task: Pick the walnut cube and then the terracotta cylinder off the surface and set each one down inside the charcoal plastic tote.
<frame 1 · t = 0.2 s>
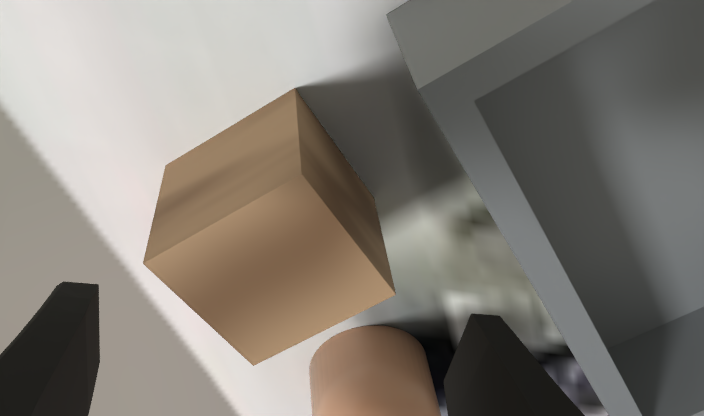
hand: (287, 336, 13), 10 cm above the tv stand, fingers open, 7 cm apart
terracotta cylinder: (368, 367, 28), on the tv stand
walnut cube: (273, 181, 23), on the tv stand
tote: (689, 124, 23), on the tv stand
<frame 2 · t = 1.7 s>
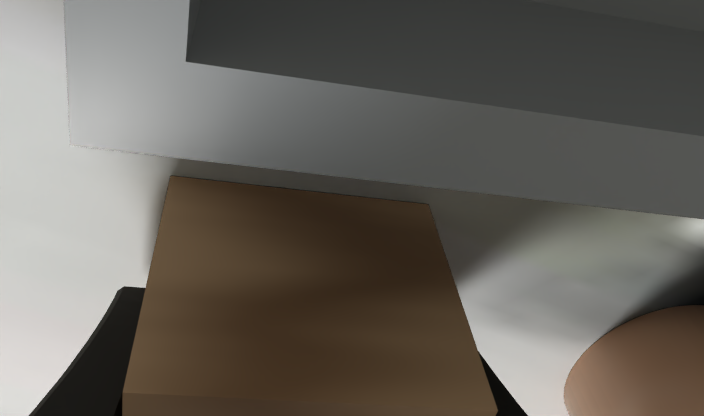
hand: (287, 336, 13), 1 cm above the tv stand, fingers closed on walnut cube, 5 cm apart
terracotta cylinder: (658, 375, 17), on the tv stand
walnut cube: (285, 287, 14), on the tv stand, touching gripper
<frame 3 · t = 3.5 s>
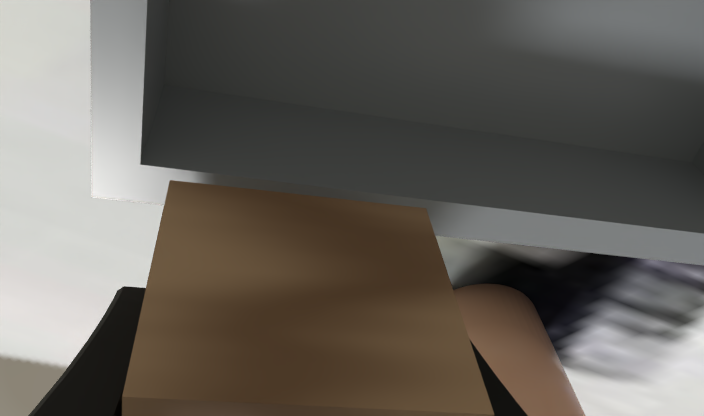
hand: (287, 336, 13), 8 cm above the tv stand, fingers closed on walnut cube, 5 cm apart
terracotta cylinder: (474, 332, 26), on the tv stand
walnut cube: (284, 290, 14), point 7 cm above the tv stand, touching gripper
when the fingers open (4 cm above the tv stand, at t = 5.3 s): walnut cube drops 1 cm, resting on tote.
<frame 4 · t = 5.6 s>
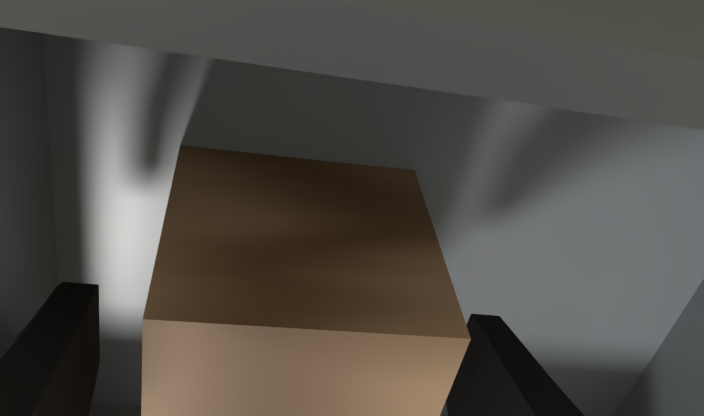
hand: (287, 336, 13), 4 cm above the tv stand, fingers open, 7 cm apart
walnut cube: (285, 250, 16), point 1 cm above the tv stand, touching tote
tote: (402, 230, 17), on the tv stand
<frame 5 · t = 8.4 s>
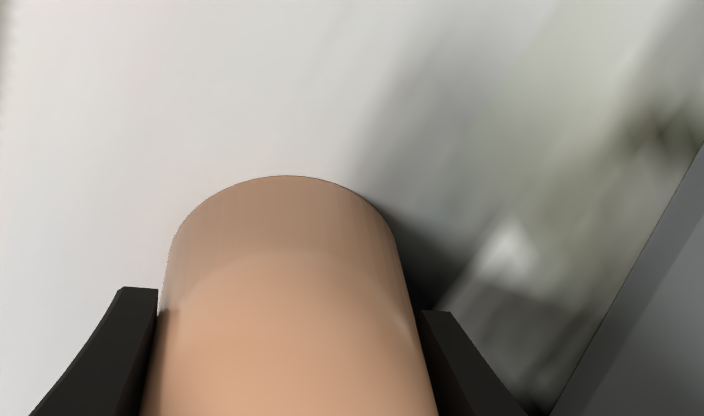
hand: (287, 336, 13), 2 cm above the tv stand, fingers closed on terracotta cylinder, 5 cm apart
terracotta cylinder: (285, 272, 15), on the tv stand, touching gripper
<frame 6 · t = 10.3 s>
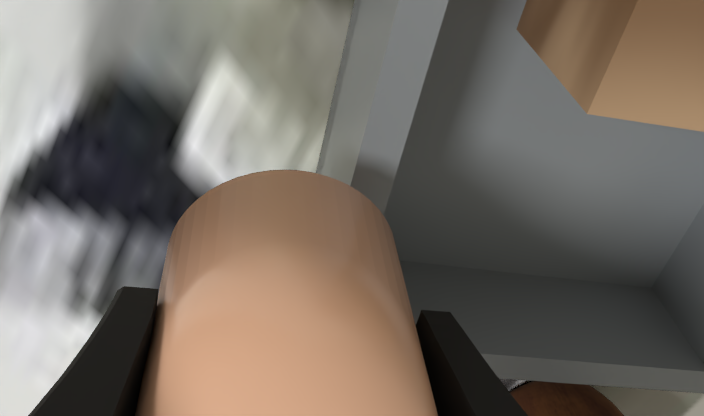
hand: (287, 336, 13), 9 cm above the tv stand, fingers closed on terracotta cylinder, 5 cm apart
terracotta cylinder: (283, 266, 15), point 7 cm above the tv stand, touching gripper
wooden figurine: (535, 400, 30), on the tv stand
tote: (582, 45, 20), on the tv stand
when the fingers open (4 cm above the tv stand, at t = 12.2 s): terracotta cylinder drops 1 cm, resting on tote.
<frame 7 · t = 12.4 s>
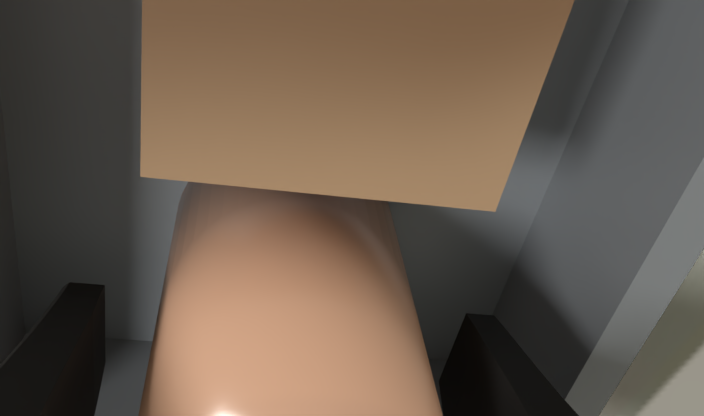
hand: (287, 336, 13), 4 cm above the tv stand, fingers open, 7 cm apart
terracotta cylinder: (285, 227, 16), point 1 cm above the tv stand, touching tote
tote: (309, 56, 14), on the tv stand
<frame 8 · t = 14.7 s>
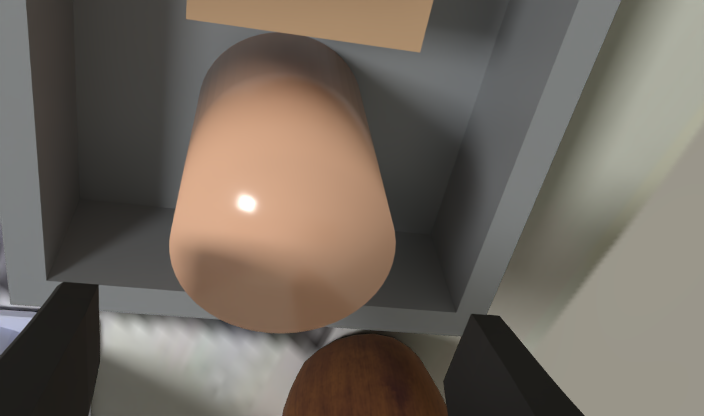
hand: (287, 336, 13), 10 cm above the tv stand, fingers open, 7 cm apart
terracotta cylinder: (281, 110, 21), point 1 cm above the tv stand, touching tote
wooden figurine: (355, 359, 29), on the tv stand
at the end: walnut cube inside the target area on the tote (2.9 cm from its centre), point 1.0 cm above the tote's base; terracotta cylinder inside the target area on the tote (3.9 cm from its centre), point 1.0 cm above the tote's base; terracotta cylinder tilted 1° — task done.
